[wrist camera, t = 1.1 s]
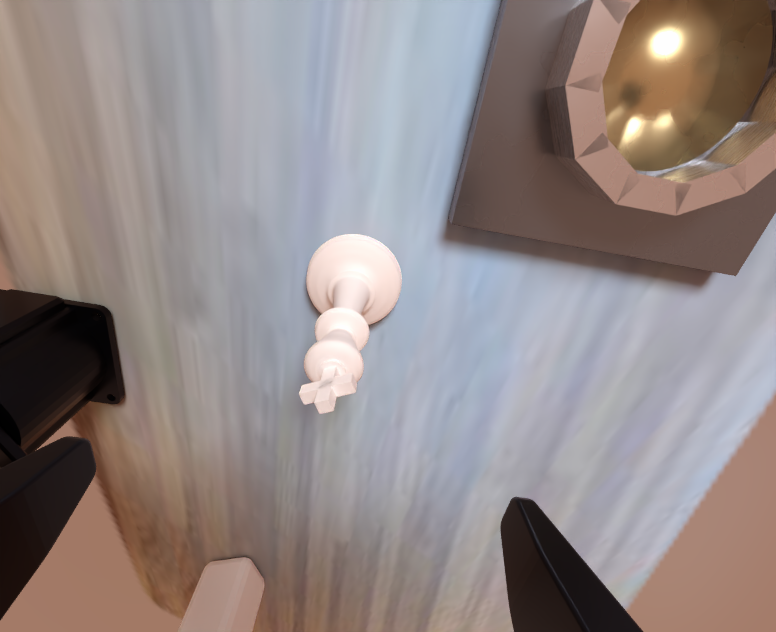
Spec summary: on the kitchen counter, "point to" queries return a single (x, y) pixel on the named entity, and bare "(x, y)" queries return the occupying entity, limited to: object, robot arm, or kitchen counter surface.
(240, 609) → the salt shaker
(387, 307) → the chess piece
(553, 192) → the hub plate
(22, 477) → the robot arm
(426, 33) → the kitchen counter surface
